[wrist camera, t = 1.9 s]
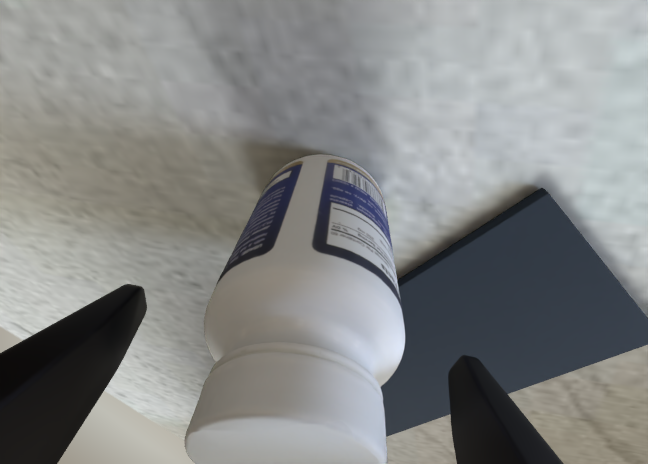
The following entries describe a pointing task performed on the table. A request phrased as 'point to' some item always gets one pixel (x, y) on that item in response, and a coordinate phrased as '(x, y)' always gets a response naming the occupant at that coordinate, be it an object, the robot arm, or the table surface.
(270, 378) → the pill bottle
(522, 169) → the table surface
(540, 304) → the rubber mat
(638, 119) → the table surface
